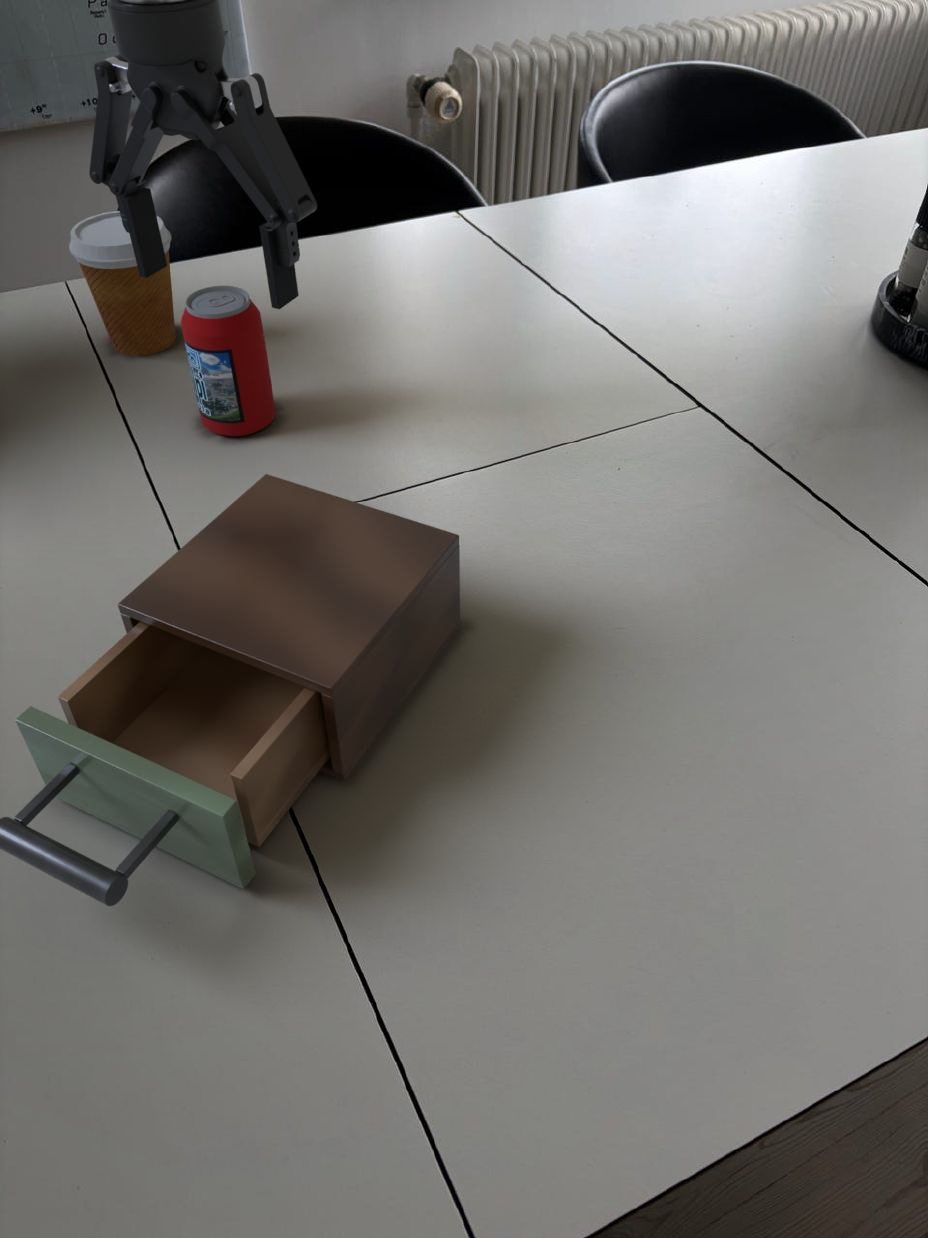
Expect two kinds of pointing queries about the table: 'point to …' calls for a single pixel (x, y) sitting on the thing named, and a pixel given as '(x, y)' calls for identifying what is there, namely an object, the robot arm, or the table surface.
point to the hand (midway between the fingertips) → (217, 286)
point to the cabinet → (314, 601)
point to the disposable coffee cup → (125, 285)
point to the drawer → (169, 759)
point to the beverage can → (228, 360)
